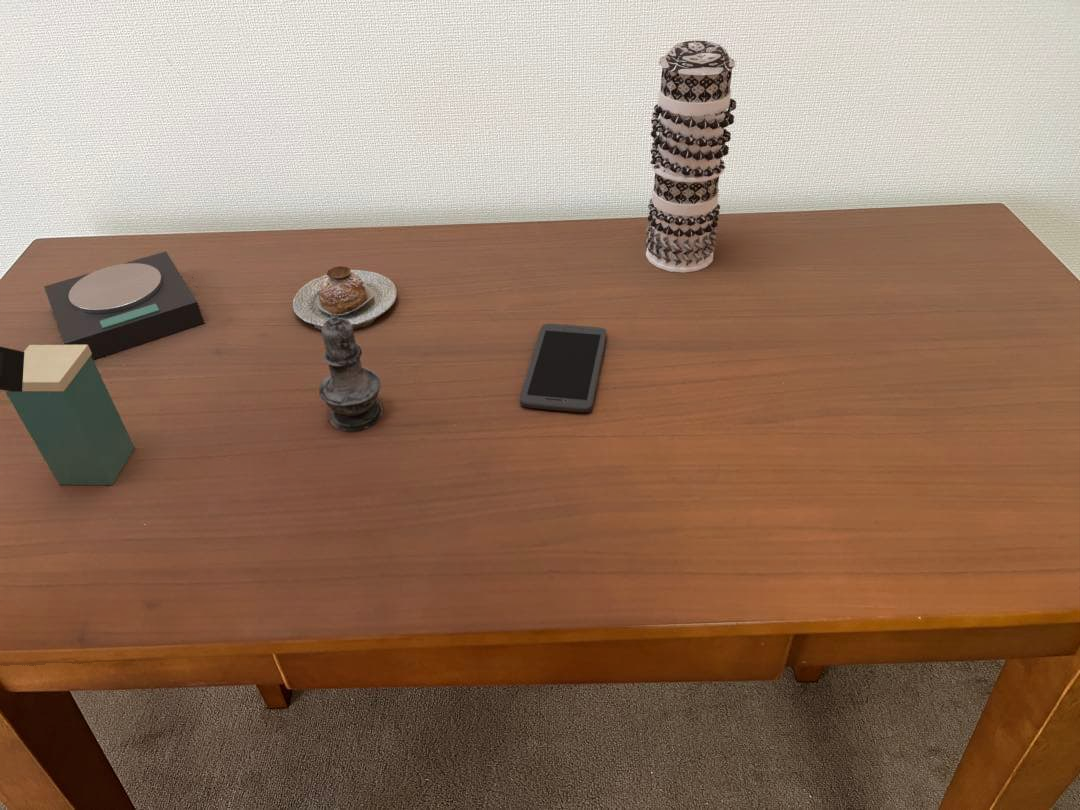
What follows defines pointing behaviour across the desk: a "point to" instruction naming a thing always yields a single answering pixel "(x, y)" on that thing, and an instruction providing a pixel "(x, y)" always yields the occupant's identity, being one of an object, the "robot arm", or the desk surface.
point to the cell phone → (564, 368)
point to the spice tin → (71, 415)
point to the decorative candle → (689, 155)
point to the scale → (127, 313)
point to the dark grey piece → (348, 380)
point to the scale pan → (115, 288)
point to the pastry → (345, 297)
